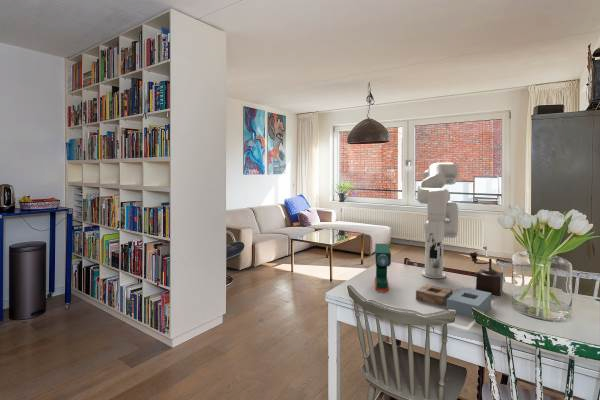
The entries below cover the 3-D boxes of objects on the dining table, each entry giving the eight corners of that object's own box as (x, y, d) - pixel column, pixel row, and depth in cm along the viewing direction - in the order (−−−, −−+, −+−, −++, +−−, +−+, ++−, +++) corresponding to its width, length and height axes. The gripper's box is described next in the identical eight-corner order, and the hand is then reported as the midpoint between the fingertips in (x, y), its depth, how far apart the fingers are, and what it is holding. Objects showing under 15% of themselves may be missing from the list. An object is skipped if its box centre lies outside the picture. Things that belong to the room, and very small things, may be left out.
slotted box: (462, 299, 159) (462, 286, 158) (490, 306, 151) (491, 292, 150) (446, 312, 144) (446, 298, 143) (477, 321, 136) (478, 306, 135)
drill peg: (432, 265, 159) (433, 244, 158) (440, 267, 156) (441, 245, 155) (429, 267, 156) (430, 245, 155) (437, 268, 154) (438, 246, 153)
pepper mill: (503, 290, 170) (505, 254, 169) (499, 297, 162) (501, 259, 160) (469, 284, 180) (470, 250, 178) (463, 290, 171) (465, 254, 170)
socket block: (426, 294, 166) (426, 284, 165) (452, 300, 158) (452, 289, 157) (415, 301, 157) (416, 290, 157) (442, 308, 149) (442, 296, 148)
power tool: (391, 301, 157) (392, 258, 156) (375, 300, 159) (376, 257, 157) (388, 279, 188) (388, 243, 187) (374, 278, 190) (375, 243, 188)
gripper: (435, 214, 163) (434, 252, 164) (420, 218, 151) (419, 259, 152) (451, 215, 158) (450, 255, 159) (437, 220, 146) (436, 262, 147)
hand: (435, 256), depth 156 cm, fingers closed on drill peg, 3 cm apart
